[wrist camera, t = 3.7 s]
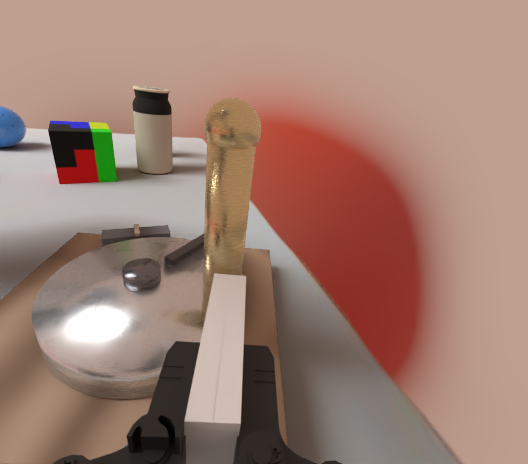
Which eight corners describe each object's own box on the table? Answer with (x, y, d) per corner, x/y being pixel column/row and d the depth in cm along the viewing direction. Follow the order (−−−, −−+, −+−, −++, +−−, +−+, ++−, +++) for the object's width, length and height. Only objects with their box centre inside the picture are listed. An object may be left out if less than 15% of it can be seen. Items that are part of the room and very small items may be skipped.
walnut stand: (-149, 486, 16) (-219, 426, 13) (82, 253, 37) (73, 211, 34) (281, 493, 18) (299, 442, 15) (266, 268, 39) (272, 230, 36)
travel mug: (176, 174, 69) (174, 92, 60) (140, 175, 65) (133, 87, 57) (169, 165, 75) (166, 88, 66) (135, 165, 71) (129, 84, 63)
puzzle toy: (60, 169, 63) (50, 120, 58) (111, 167, 68) (106, 123, 63) (59, 184, 55) (48, 130, 51) (117, 181, 60) (111, 132, 56)
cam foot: (-5, 327, 22) (-125, 47, 13) (162, 241, 36) (154, 76, 27) (153, 457, 16) (115, 100, 7) (280, 294, 30) (318, 103, 21)
